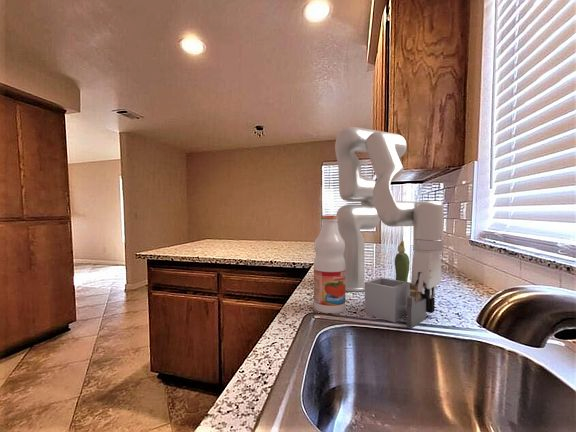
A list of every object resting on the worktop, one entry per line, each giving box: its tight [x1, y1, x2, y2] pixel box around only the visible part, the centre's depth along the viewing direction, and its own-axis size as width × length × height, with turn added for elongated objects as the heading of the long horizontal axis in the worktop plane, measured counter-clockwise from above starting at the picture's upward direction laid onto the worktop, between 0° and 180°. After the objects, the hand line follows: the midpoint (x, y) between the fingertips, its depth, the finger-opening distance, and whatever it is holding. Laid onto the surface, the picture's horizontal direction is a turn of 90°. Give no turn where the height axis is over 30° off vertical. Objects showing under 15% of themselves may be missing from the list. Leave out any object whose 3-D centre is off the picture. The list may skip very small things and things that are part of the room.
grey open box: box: [364, 276, 411, 323], centre depth 81 cm, size 9×9×9 cm
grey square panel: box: [406, 296, 427, 329], centre depth 75 cm, size 1×9×8 cm, turn 134°
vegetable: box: [394, 240, 411, 282], centre depth 90 cm, size 4×4×20 cm
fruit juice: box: [313, 214, 346, 315], centre depth 85 cm, size 9×9×28 cm
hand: (427, 311), depth 80 cm, fingers closed
